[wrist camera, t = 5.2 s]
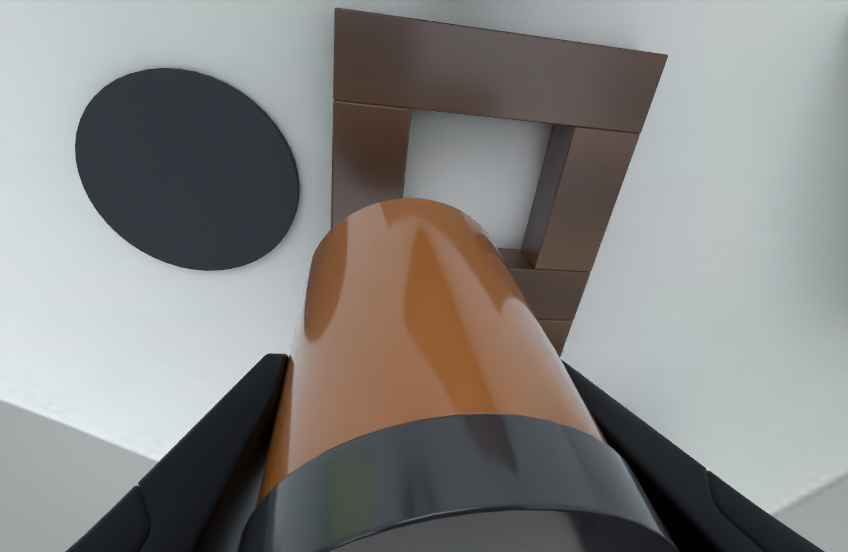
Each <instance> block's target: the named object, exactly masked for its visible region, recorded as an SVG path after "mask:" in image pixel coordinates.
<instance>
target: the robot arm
mask: <svg viewBox="0 0 848 552" xmlns="http://www.w3.org/2000/svg"><path fill="white" fill-rule="evenodd" d="M288 359H289V357H288V355H286V354H267V355H265V356H264V357H263V358H262V359H261V360H260V361H259V362H258V363H257V364H256V365H255V366H254V367H253V368H252V369H251V370H250V371H249V372H248V373H247V374H246V375H245V376H244V377H243V378H242V379H241V380H240V381H239V382H238V383H237V384H236V385H235V386H234V387H233V388H232V389H231V390H230V391H229V392H228V393H227V394H226V395H225V396H224V397H223V398H222V399H221V400H220V401H219V402H218V403H217V404H216V405H215V406H214V407H213V408H212V409H211V410H210V411H209V412H208V413H207V414H206V415H205V416H204V417H203V418H202V419H201V420H200V421H199V422H198V423H197V424H196V425H195V426H194V427H193V428H192V429H191V430H190V431H189V432H188V433H187V434H186V435H185V436H184V437H183V438H182V439H181V440H180V441H179V442H178V443H177V444H176V445H175V446H174V447H173V448H172V449H171V450H170V451H169V452H168V453H167V454H166V455H165V456H164V457H163V458H162V459H161V460H160V461H159V462H158V463H157V464H156V465H155V466H154V467H153V468H152V469H151V470H150V471H149V472H148V473H147V474H146V475H145V476H144V477H143V478H142V479H141V480H140V481H139V483H138V485H139V486H134V487H133V488H132V489H131V490H130V491H129V492H128V493H127V494H126V495H125V496H124V497H123V498H122V499H121V500H120V501H119V502H118V503H117V504H116V505H115V506H114V507H113V508H112V509H111V510H110V511H109V512H108V513H107V514H106V515H105V516H104V517H103V518H101V519H100V520H99V521H98V522H97V523H96V524H95V525H94V526H93V527H92V528H91V529H90V530H89V531H88V532H87V533H86V534H85V535H84V536H83V537H81V538H80V539H79V540H78V541H77V542H76V543H75V544H74V545H72V546H71V547H70V548H69V549H68V550H67V551H66V552H237V550H238V546H239V542H240V538H241V534H242V531H243V529H244V527H245V525H246V523H247V521H248V519H249V517H250V515H251V514H252V513H253V511H254V510H255V508H256V503H257V499H258V494H259V490H260V485H261V481H262V476H263V472H264V467H265V463H266V458H267V454H268V449H269V445H270V440H271V436H272V431H273V427H274V422H275V418H276V413H277V409H278V404H279V400H280V395H281V391H282V386H283V382H284V377H285V373H286V368H287V364H288ZM561 361H562V360H561ZM562 363H563V365H564V366H565V368H566V370H567V372H568V373H569V375H570V377H571V379H572V380H573V382H574V384H575V386H576V387H577V389H578V391H579V393H580V395H581V396H582V398H583V400H584V402H585V403H586V405H587V407H588V409H589V410H590V412H591V414H592V416H593V417H594V419H595V421H596V423H597V424H598V426H599V428H600V430H601V431H602V433H603V435H604V437H605V438H606V440H607V442H608V444H609V445H610V447H611V448H613V449H614V450H615V451H616V452H617V453H618V454H619V455H620V456H621V457H622V458H623V459H624V460H625V461H626V462H627V463H628V465H629V466H630V468H631V469H632V471H633V472H634V474H635V475H636V477H637V479H638V480H639V482H640V484H641V485H642V487H643V489H644V491H645V492H646V494H647V496H648V497H649V499H650V501H651V502H652V504H653V506H654V507H655V509H656V511H657V513H658V514H659V516H660V518H661V519H662V521H663V523H664V524H665V526H666V528H667V530H668V531H669V533H670V535H671V536H672V538H673V540H674V541H675V543H676V545H677V547H678V548H679V550H680V552H824V551H823V550H821V549H820V548H818V547H817V546H815V545H814V544H812V543H810V542H809V541H808V540H806V539H805V538H803V537H802V536H800V535H799V534H797V533H796V532H794V531H793V530H791V529H790V528H788V527H787V526H785V525H784V524H783V523H781V522H780V521H778V520H777V519H775V518H774V517H773V516H771V515H770V514H768V513H767V512H765V511H764V510H762V509H761V508H759V507H758V506H757V505H755V504H754V503H752V502H751V501H750V500H748V499H747V498H746V497H744V496H743V495H741V494H740V493H739V492H737V491H736V490H735V489H733V488H732V487H730V486H729V485H728V484H726V483H725V482H724V481H722V480H721V479H720V478H718V477H717V476H716V475H714V474H713V473H712V472H710V471H707V470H706V468H705V467H704V466H702V465H701V464H700V463H698V462H697V461H696V460H694V459H693V458H692V457H690V456H689V455H688V454H686V453H685V452H684V451H682V450H681V449H680V448H678V447H677V446H676V445H674V444H673V443H672V442H670V441H669V440H668V439H666V438H665V437H664V436H662V435H661V434H660V433H658V432H657V431H656V430H654V429H653V428H652V427H650V426H649V425H648V424H646V423H645V422H644V421H642V420H641V419H640V418H638V417H637V416H636V415H634V414H633V413H632V412H630V411H629V410H628V409H626V408H625V407H624V406H622V405H621V404H620V403H618V402H617V401H616V400H614V399H613V398H612V397H611V396H609V395H608V394H607V393H605V392H604V391H603V390H601V389H600V388H599V387H597V386H596V385H595V384H593V383H592V382H591V381H589V380H588V379H587V378H585V377H584V376H583V375H581V374H580V373H579V372H577V371H576V370H575V369H573V368H572V367H571V366H569V365H568V364H567V363H565V362H564V361H562Z"/></svg>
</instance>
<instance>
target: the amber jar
mask: <svg viewBox="0 0 848 552" xmlns="http://www.w3.org/2000/svg"><path fill="white" fill-rule="evenodd" d="M237 552H680V550H679V548H678V547H677V545H676V543H675V541H674V540H673V538H672V536H671V535H670V533H669V531H668V530H667V528H666V526H665V524H664V523H663V521H662V519H661V518H660V516H659V514H658V513H657V511H656V509H655V507H654V506H653V504H652V502H651V501H650V499H649V497H648V496H647V494H646V492H645V491H644V489H643V487H642V485H641V484H640V482H639V480H638V479H637V477H636V475H635V474H634V472H633V471H632V469H631V468H630V466H629V465H628V463H627V462H626V461H625V460H624V459H623V458H622V457H621V456H620V455H619V454H618V453H617V452H616V451H615V450H614V449H613V448H611V447H610V445H609V444H608V442H607V440H606V438H605V437H604V435H603V433H602V431H601V430H600V428H599V426H598V424H597V423H596V421H595V419H594V417H593V416H592V414H591V412H590V410H589V409H588V407H587V405H586V403H585V402H584V400H583V398H582V396H581V395H580V393H579V391H578V389H577V387H576V386H575V384H574V382H573V380H572V379H571V377H570V375H569V373H568V372H567V370H566V368H565V366H564V365H563V363H562V361H561V359H560V358H559V356H558V354H557V352H556V351H555V349H554V347H553V345H552V344H551V342H550V340H549V338H548V337H547V335H546V333H545V331H544V330H543V328H542V326H541V324H540V323H539V321H538V319H537V317H536V316H535V314H534V312H533V310H532V308H531V307H530V305H529V303H528V301H527V300H526V298H525V296H524V294H523V293H522V291H521V289H520V287H519V286H518V284H517V282H516V280H515V279H514V277H513V275H512V273H511V272H510V270H509V268H508V266H507V265H506V263H505V261H504V259H503V258H502V256H501V254H500V252H499V251H498V249H497V247H496V245H495V244H494V242H493V240H492V239H491V237H490V236H489V234H488V233H487V232H486V231H485V230H484V229H483V228H482V226H481V225H480V224H479V223H477V222H476V221H475V220H474V219H472V218H471V217H470V216H468V215H467V214H465V213H463V212H462V211H460V210H458V209H456V208H454V207H451V206H449V205H447V204H443V203H440V202H436V201H432V200H425V199H410V198H404V199H394V200H388V201H384V202H379V203H376V204H373V205H370V206H367V207H365V208H362V209H360V210H358V211H357V212H355V213H353V214H351V215H349V216H348V217H346V218H345V219H344V220H342V221H341V222H339V223H338V224H337V225H336V226H335V227H334V228H333V229H332V230H331V231H329V233H328V234H327V235H326V236H325V237H324V239H323V240H322V241H321V243H320V244H319V246H318V248H317V249H316V251H315V253H314V255H313V257H312V260H311V262H310V265H309V270H308V274H307V278H306V283H305V287H304V292H303V296H302V301H301V305H300V310H299V314H298V319H297V323H296V328H295V332H294V337H293V341H292V346H291V350H290V355H289V359H288V364H287V368H286V373H285V377H284V382H283V386H282V391H281V395H280V400H279V404H278V409H277V413H276V418H275V422H274V427H273V431H272V436H271V440H270V445H269V449H268V454H267V458H266V463H265V467H264V472H263V476H262V481H261V485H260V490H259V494H258V499H257V503H256V508H255V510H254V511H253V513H252V514H251V515H250V517H249V519H248V521H247V523H246V525H245V527H244V529H243V531H242V534H241V538H240V542H239V546H238V550H237Z"/></svg>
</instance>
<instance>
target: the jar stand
mask: <svg viewBox="0 0 848 552" xmlns="http://www.w3.org/2000/svg"><path fill="white" fill-rule="evenodd" d="M667 58H668V55H666V54H659V53H652V52H644V51H637V50H630V49H623V48H616V47H609V46H602V45H595V44H588V43H581V42H574V41H567V40H560V39H553V38H546V37H539V36H532V35H525V34H518V33H511V32H504V31H497V30H490V29H483V28H476V27H469V26H462V25H455V24H448V23H441V22H434V21H427V20H420V19H413V18H406V17H399V16H392V15H385V14H377V13H370V12H363V11H356V10H349V9H342V8H335V20H334V80H333V99H334V101H333V144H332V204H331V230H332V229H333V228H334V227H335V226H336V225H337V224H338V223H339V222H341V221H342V220H344V219H345V218H346V217H348V216H349V215H351V214H353V213H355V212H357V211H358V210H360V209H362V208H365V207H367V206H370V205H373V204H376V203H379V202H384V201H388V200H394V199H403V189H404V179H405V169H406V159H407V150H408V140H409V130H410V120H411V108H412V109H421V110H430V111H439V112H449V113H458V114H467V115H476V116H485V117H495V118H504V119H513V120H522V121H531V122H540V123H550V124H554V125H553V129H552V133H551V137H550V141H549V144H548V148H547V152H546V156H545V160H544V164H543V168H542V171H541V175H540V179H539V183H538V187H537V191H536V195H535V198H534V202H533V206H532V210H531V214H530V218H529V222H528V225H527V229H526V233H525V237H524V241H523V245H522V250H517V249H500V248H497V249H498V251H499V252H500V254H501V256H502V258H503V259H504V261H505V263H506V265H507V266H508V268H509V270H510V272H511V273H512V275H513V277H514V279H515V280H516V282H517V284H518V286H519V287H520V289H521V291H522V293H523V294H524V296H525V298H526V300H527V301H528V303H529V305H530V307H531V308H532V310H533V312H534V314H535V316H536V317H537V319H538V321H539V323H540V324H541V326H542V328H543V330H544V331H545V333H546V335H547V337H548V338H549V340H550V342H551V344H552V345H553V347H554V349H555V351H556V352H557V354H558V356H559V358H560V356H561V353H562V350H563V347H564V344H565V342H566V339H567V336H568V333H569V330H570V328H571V325H572V320H574V317H575V314H576V311H577V308H578V306H579V303H580V300H581V297H582V294H583V292H584V289H585V286H586V283H587V280H588V278H589V275H590V272H591V270H592V267H593V264H594V261H595V258H596V256H597V253H598V250H599V247H600V244H601V242H602V239H603V236H604V233H605V230H606V228H607V225H608V222H609V219H610V216H611V214H612V211H613V208H614V205H615V202H616V200H617V197H618V194H619V191H620V188H621V186H622V183H623V180H624V177H625V174H626V172H627V169H628V166H629V163H630V160H631V158H632V155H633V152H634V149H635V146H636V144H637V141H638V138H639V135H640V134H639V133H641V130H642V127H643V125H644V122H645V119H646V116H647V114H648V111H649V108H650V105H651V102H652V100H653V97H654V94H655V91H656V88H657V86H658V83H659V80H660V77H661V74H662V72H663V69H664V66H665V63H666V60H667Z"/></svg>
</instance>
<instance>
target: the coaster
mask: <svg viewBox="0 0 848 552" xmlns="http://www.w3.org/2000/svg"><path fill="white" fill-rule="evenodd" d="M75 152H76V163H77V167H78V172H79V176H80V178H81V181H82V184H83V187H84V189H85V191H86V193H87V195H88V197H89V199H90V201H91V202H92V204H93V205H94V207H95V208H96V210H97V211H98V213H99V214H100V215H101V216H102V218H103V219H104V220H105V221H106V222H107V224H108V225H109V226H110V227H111V228H112V229H113V230H114V231H115V232H117V233H118V234H119V235H120V236H121V237H122V238H124V239H125V240H126V241H127V242H129V243H130V244H132V245H133V246H135V247H136V248H138V249H139V250H141V251H143V252H144V253H146V254H148V255H150V256H152V257H154V258H156V259H159V260H161V261H164V262H166V263H169V264H172V265H176V266H179V267H184V268H189V269H195V270H205V271H209V270H226V269H232V268H236V267H240V266H244V265H246V264H249V263H252V262H254V261H256V260H258V259H259V258H261V257H263V256H264V255H266V254H267V253H269V252H270V251H271V250H272V249H273V248H275V247H276V246H277V245H278V244H279V243H280V241H281V240H282V239H283V237H284V236H285V235H286V233H287V231H288V230H289V228H290V226H291V224H292V221H293V219H294V216H295V213H296V210H297V205H298V200H299V181H298V173H297V169H296V164H295V161H294V158H293V155H292V153H291V150H290V148H289V146H288V144H287V142H286V140H285V138H284V136H283V135H282V133H281V132H280V130H279V129H278V127H277V126H276V124H275V123H274V122H273V121H272V120H271V118H270V117H269V116H268V115H267V114H266V113H265V112H264V111H263V110H262V109H261V108H260V107H259V106H258V105H257V104H256V103H255V102H254V101H252V100H251V99H250V98H248V97H247V96H246V95H244V94H243V93H242V92H240V91H238V90H237V89H235V88H233V87H232V86H230V85H228V84H227V83H224V82H222V81H220V80H218V79H215V78H213V77H211V76H207V75H204V74H201V73H198V72H194V71H188V70H183V69H172V68H158V69H148V70H143V71H139V72H135V73H131V74H128V75H126V76H123V77H121V78H119V79H116V80H115V81H113V82H112V83H110V84H108V85H107V86H105V87H104V88H103V89H102V90H101V91H100V92H99V93H97V94H96V95H95V96H94V97H93V99H92V100H91V101H90V103H89V104H88V106H87V107H86V109H85V111H84V113H83V115H82V117H81V119H80V122H79V126H78V129H77V133H76V143H75Z"/></svg>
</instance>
